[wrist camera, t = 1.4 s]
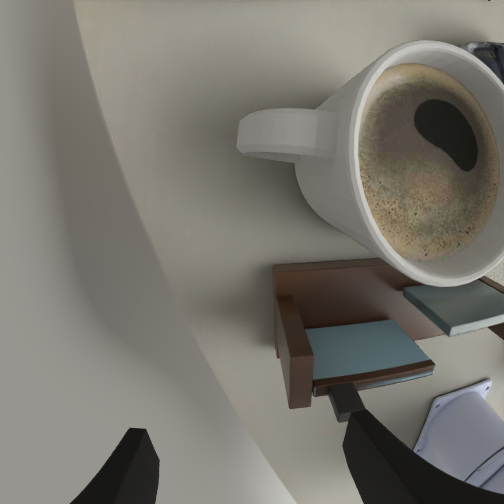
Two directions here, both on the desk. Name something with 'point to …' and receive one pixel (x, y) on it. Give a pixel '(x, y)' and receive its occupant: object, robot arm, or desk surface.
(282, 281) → the window
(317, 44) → the desk surface
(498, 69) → the electronic device
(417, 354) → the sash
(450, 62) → the mug
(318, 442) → the desk surface
